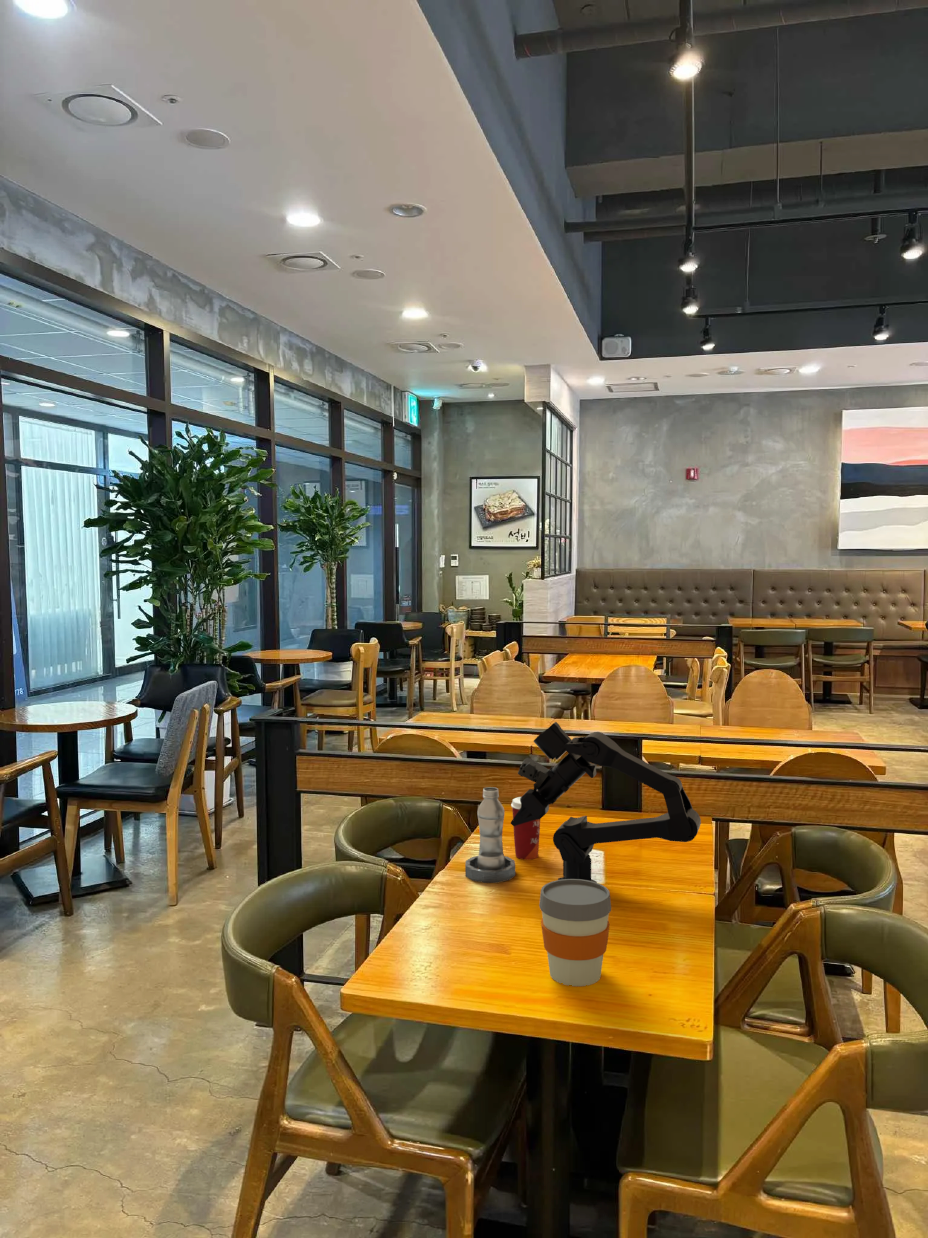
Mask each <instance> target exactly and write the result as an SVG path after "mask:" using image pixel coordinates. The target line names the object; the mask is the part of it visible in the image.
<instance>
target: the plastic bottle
mask: <svg viewBox="0 0 928 1238" xmlns="http://www.w3.org/2000/svg"><path fill="white" fill-rule="evenodd" d="M499 794H500V793H499V788H497V787H495V786H494V787H493V786H492V787H491V786H488V787H483V790H482V798H483V799H482V801H481V803H480V804H479V806H478V807H477V812H476V813H477V819H478V827H479V828H478V829H479V848H478V849H479V850H478V855H477V856H478V862H477V864H478V868H477V869H480V870H500V869H505V868H504V866H505V858H504V856H505V855H504V854H505V853H504V847H503V831H504V830H503V829H504V820H505V812H506V811H505V808H504V806H503V804H502V802H501V801H500V800H499V798H500V795H499Z"/></svg>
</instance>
